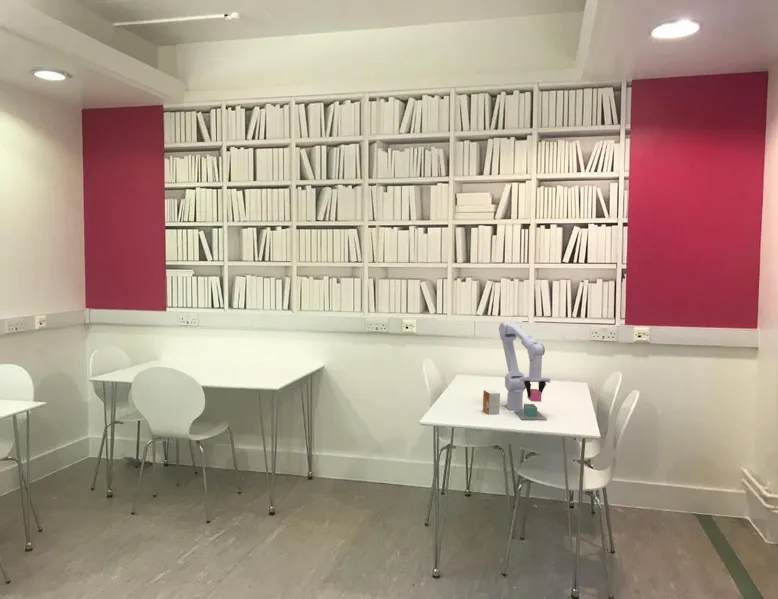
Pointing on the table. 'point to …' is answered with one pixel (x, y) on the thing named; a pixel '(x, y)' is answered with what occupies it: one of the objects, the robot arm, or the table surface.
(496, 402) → the small box
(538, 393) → the raspberry brick
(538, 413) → the baseplate
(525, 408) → the teal brick
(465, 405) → the table surface
